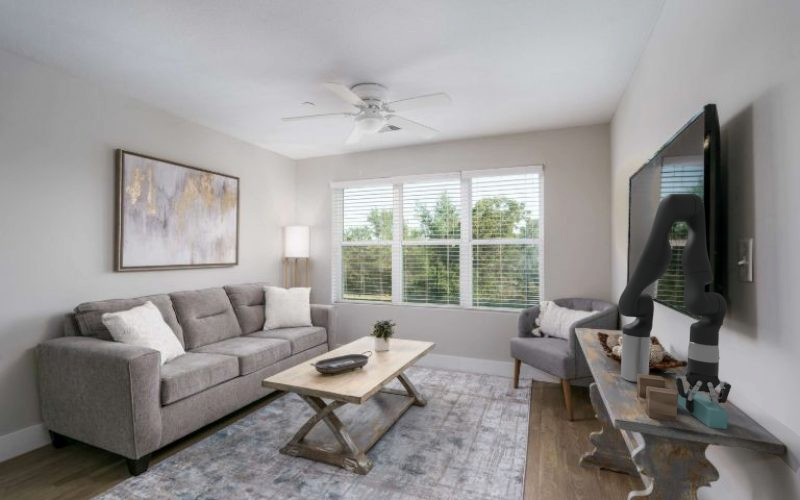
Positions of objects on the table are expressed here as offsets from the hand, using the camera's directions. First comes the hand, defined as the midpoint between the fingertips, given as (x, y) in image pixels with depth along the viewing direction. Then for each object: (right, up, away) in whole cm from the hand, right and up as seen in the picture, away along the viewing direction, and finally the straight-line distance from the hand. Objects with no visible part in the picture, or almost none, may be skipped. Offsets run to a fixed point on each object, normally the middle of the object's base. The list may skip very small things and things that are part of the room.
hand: (700, 413), depth 120 cm
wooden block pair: (-11, 0, +4) cm, 12 cm away
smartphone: (+19, -1, +47) cm, 51 cm away
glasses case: (0, -1, 0) cm, 1 cm away
